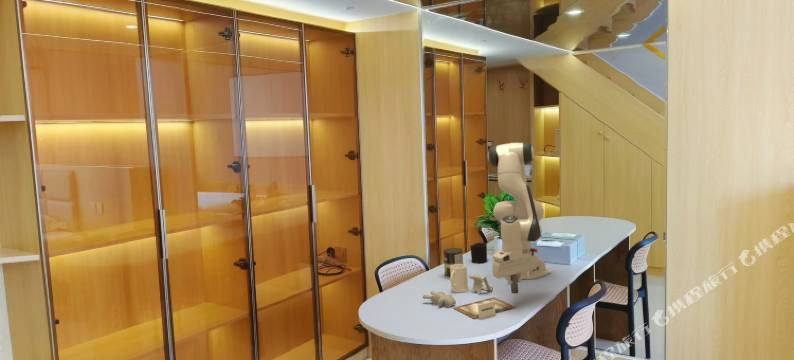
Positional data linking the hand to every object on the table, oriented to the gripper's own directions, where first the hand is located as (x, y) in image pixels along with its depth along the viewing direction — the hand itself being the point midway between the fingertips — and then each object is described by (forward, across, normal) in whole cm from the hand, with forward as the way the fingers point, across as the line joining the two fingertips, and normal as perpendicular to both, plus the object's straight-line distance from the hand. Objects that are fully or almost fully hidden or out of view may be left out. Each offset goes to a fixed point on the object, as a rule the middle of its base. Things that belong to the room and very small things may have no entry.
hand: (514, 283), depth 241 cm
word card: (+8, +20, +6) cm, 23 cm away
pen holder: (+11, -28, -67) cm, 73 cm away
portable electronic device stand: (+10, +3, -22) cm, 25 cm away
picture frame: (+9, +15, -3) cm, 17 cm away
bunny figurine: (+9, +27, -20) cm, 35 cm away
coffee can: (+10, -1, -52) cm, 53 cm away
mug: (+9, +11, -31) cm, 34 cm away
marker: (+4, 0, 0) cm, 4 cm away
